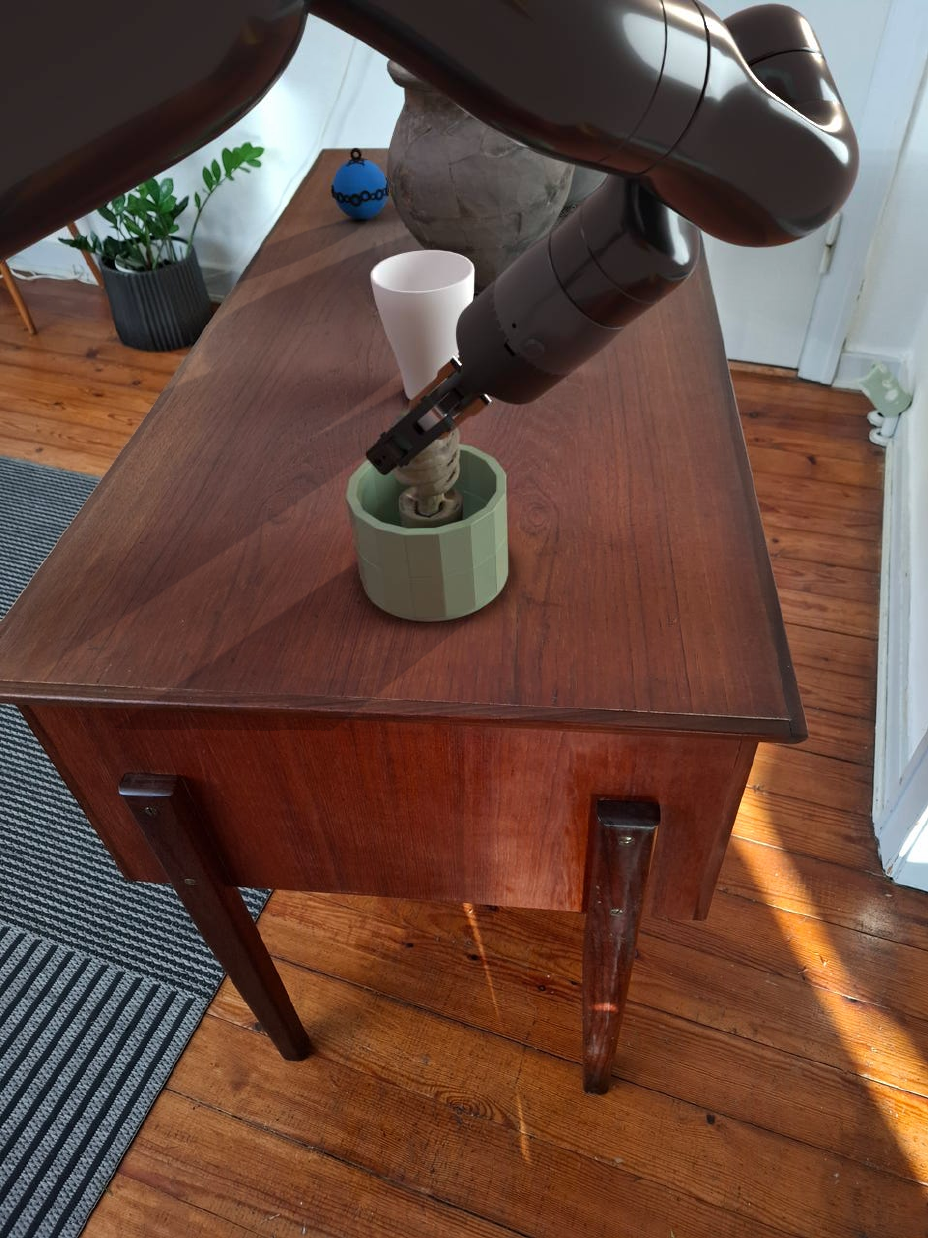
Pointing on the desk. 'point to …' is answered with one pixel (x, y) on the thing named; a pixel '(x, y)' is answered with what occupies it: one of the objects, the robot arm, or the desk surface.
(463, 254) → the clay pot
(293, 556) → the desk surface
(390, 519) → the pot
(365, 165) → the ornament
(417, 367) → the cup
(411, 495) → the light bulb
